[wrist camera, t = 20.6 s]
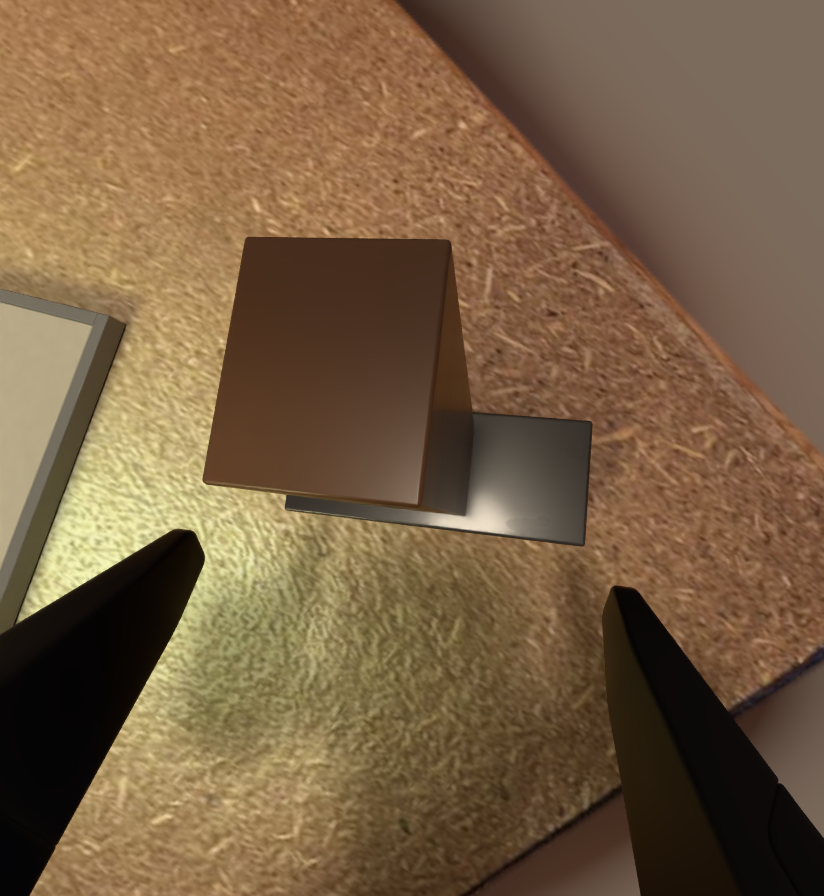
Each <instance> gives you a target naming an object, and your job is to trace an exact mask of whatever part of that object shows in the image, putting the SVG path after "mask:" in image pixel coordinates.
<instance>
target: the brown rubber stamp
mask: <svg viewBox="0 0 824 896" xmlns="http://www.w3.org/2000/svg"><path fill="white" fill-rule="evenodd" d="M592 426H593V424H592V422H591V421H583V420H570V419H557V418H544V417H531V416H518V415H505V414H493V413H480V412H472V406H471V398H470V390H469V382H468V374H467V366H466V358H465V350H464V342H463V334H462V326H461V318H460V310H459V302H458V294H457V286H456V278H455V270H454V263H453V255H452V247H451V243H450V241H449V240H439V239H366V238H292V237H247V238H246V239H245V243H244V248H243V254H242V260H241V265H240V271H239V277H238V282H237V288H236V293H235V299H234V305H233V310H232V316H231V322H230V327H229V333H228V338H227V344H226V350H225V355H224V361H223V367H222V372H221V378H220V383H219V389H218V395H217V400H216V406H215V412H214V417H213V423H212V428H211V434H210V440H209V445H208V451H207V457H206V462H205V468H204V473H203V482H204V483H205V484H207V485H215V486H223V487H230V488H238V489H246V490H254V491H262V492H270V493H277V494H285V495H287V496H286V502H285V510H287V511H295V512H303V513H311V514H320V515H328V516H336V517H344V518H352V519H361V520H369V521H377V522H385V523H393V524H401V525H410V526H418V527H426V528H434V529H442V530H450V531H459V532H467V533H475V534H483V535H491V536H500V537H508V538H516V539H524V540H532V541H540V542H549V543H557V544H565V545H573V546H581V547H582V546H584V545H585V536H586V520H587V505H588V489H589V473H590V457H591V442H592Z"/></svg>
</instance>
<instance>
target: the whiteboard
mask: <svg viewBox="0 0 824 896" xmlns="http://www.w3.org/2000/svg"><path fill="white" fill-rule="evenodd" d="M124 327H125V324H124V323H122V322H120V321H118V320H116V319H114V318H113V317H111V316H109V315H105V314H101V313H97V312H93V311H89V310H85V309H81V308H77V307H73V306H69V305H64V304H60V303H56V302H52V301H48V300H44V299H40V298H36V297H32V296H28V295H24V294H20V293H16V292H12V291H8V290H4V289H0V634H1V633H3V632H4V631H6V630H8V629H9V628H11V627H13V625H14V622H15V620H16V617H17V614H18V612H19V609H20V606H21V603H22V601H23V598H24V595H25V593H26V590H27V587H28V585H29V582H30V579H31V577H32V574H33V571H34V569H35V566H36V563H37V561H38V558H39V555H40V553H41V550H42V547H43V544H44V542H45V539H46V536H47V534H48V531H49V528H50V526H51V523H52V520H53V518H54V515H55V512H56V510H57V507H58V504H59V502H60V499H61V496H62V494H63V491H64V488H65V485H66V483H67V480H68V477H69V475H70V472H71V469H72V467H73V464H74V461H75V459H76V456H77V453H78V451H79V448H80V445H81V443H82V440H83V437H84V435H85V432H86V429H87V426H88V424H89V421H90V418H91V416H92V413H93V410H94V408H95V405H96V402H97V400H98V397H99V394H100V392H101V389H102V386H103V384H104V381H105V378H106V376H107V373H108V370H109V368H110V365H111V362H112V359H113V357H114V354H115V351H116V349H117V346H118V343H119V341H120V338H121V335H122V333H123V330H124Z"/></svg>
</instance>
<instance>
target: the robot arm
mask: <svg viewBox="0 0 824 896" xmlns="http://www.w3.org/2000/svg"><path fill="white" fill-rule="evenodd" d="M204 561H205V554H204V552H203V549H202V547H201V545H200V542H199V540H198V538H197V536H196V534H195V532H193V531H191V530H185V529H174V530H172V531H170V532H168V533H167V534H165V535H163V536H162V537H160V538H158V539H157V540H155V541H154V542H152V543H150V544H149V545H147V546H145V547H144V548H142V549H140V550H139V551H137V552H135V553H134V554H132V555H130V556H129V557H127V558H125V559H124V560H122V561H120V562H119V563H117V564H115V565H114V566H112V567H110V568H109V569H107V570H105V571H104V572H102V573H100V574H99V575H97V576H96V577H94V578H92V579H91V580H89V581H87V582H86V583H84V584H82V585H81V586H79V587H77V588H76V589H74V590H72V591H71V592H69V593H67V594H66V595H64V596H62V597H61V598H59V599H57V600H56V601H54V602H52V603H51V604H49V605H47V606H46V607H44V608H42V609H41V610H39V611H38V612H36V613H34V614H33V615H31V616H29V617H28V618H26V619H24V620H23V621H21V622H19V623H18V624H16V625H14V626H13V627H11V628H9V629H8V630H6V631H4V632H3V633H1V634H0V896H30V894H31V892H32V890H33V888H34V886H35V885H36V883H37V881H38V879H39V877H40V876H41V874H42V872H43V870H44V868H45V867H46V865H47V863H48V861H49V859H50V857H51V856H52V854H53V852H54V850H55V848H56V845H57V844H58V842H59V841H60V839H61V837H62V835H63V833H64V831H65V830H66V828H67V826H68V824H69V822H70V820H71V819H72V817H73V815H74V813H75V811H76V810H77V808H78V806H79V804H80V802H81V800H82V799H83V797H84V795H85V793H86V791H87V790H88V788H89V786H90V784H91V782H92V780H93V779H94V777H95V775H96V773H97V771H98V770H99V768H100V766H101V764H102V762H103V760H104V759H105V757H106V755H107V753H108V751H109V750H110V748H111V746H112V744H113V742H114V740H115V739H116V737H117V735H118V733H119V731H120V730H121V728H122V726H123V724H124V722H125V720H126V719H127V717H128V715H129V713H130V711H131V710H132V708H133V706H134V704H135V702H136V700H137V699H138V697H139V695H140V693H141V691H142V690H143V688H144V686H145V684H146V682H147V680H148V679H149V677H150V675H151V673H152V671H153V670H154V668H155V666H156V664H157V662H158V660H159V659H160V657H161V655H162V653H163V651H164V650H165V648H166V646H167V644H168V642H169V640H170V639H171V637H172V635H173V633H174V631H175V629H176V627H177V625H178V623H179V621H180V619H181V617H182V614H183V612H184V610H185V607H186V605H187V603H188V600H189V598H190V596H191V593H192V591H193V589H194V586H195V584H196V582H197V579H198V577H199V575H200V572H201V570H202V568H203V565H204ZM602 626H603V643H604V660H605V677H606V692H607V702H608V709H609V716H610V721H611V727H612V733H613V739H614V744H615V750H616V756H617V762H618V767H619V773H620V779H621V785H622V790H623V796H624V802H625V808H626V813H627V819H628V824H629V831H630V836H631V842H632V848H633V854H634V859H635V865H636V870H637V877H638V882H639V888H640V894H641V896H824V838H823V837H822V835H821V834H820V833H819V832H818V830H817V829H816V828H815V826H814V825H813V824H812V823H811V821H810V820H809V819H808V817H807V816H806V815H805V813H804V812H803V811H802V810H801V808H800V807H799V806H798V804H797V803H796V802H795V800H794V799H793V798H792V796H791V795H790V794H789V792H788V791H787V790H786V788H785V787H784V786H783V785H782V784H780V783H778V778H777V776H776V775H775V774H774V772H773V771H772V770H771V768H770V767H769V766H768V764H767V763H766V762H765V761H764V759H763V758H762V756H761V755H760V754H759V752H758V751H757V750H756V748H755V747H754V746H753V744H752V743H751V742H750V740H749V739H748V738H747V736H746V735H745V734H744V732H743V731H742V730H741V728H740V727H739V726H738V724H737V723H736V722H735V720H734V719H733V718H732V716H731V715H730V714H729V712H728V711H727V710H726V708H725V707H724V706H723V704H722V703H721V702H720V700H719V699H718V698H717V696H716V695H715V693H714V692H713V691H712V689H711V688H710V687H709V685H708V684H707V683H706V681H705V680H704V679H703V677H702V676H701V675H700V673H699V672H698V671H697V669H696V668H695V667H694V665H693V664H692V663H691V661H690V660H689V659H688V657H687V656H686V655H685V653H684V652H683V651H682V649H681V648H680V647H679V645H678V644H677V643H676V641H675V640H674V639H673V637H672V636H671V635H670V633H669V632H668V631H667V629H666V628H665V627H664V625H663V624H662V623H661V621H660V620H659V619H658V617H657V616H656V615H655V613H654V612H653V611H652V609H651V608H650V607H649V605H648V604H647V603H646V601H645V600H644V599H643V597H642V596H641V595H640V593H639V592H638V591H637V590H636V589H634V588H631V587H624V586H613V587H612V588H611V590H610V593H609V596H608V598H607V601H606V604H605V607H604V610H603V616H602Z"/></svg>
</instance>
